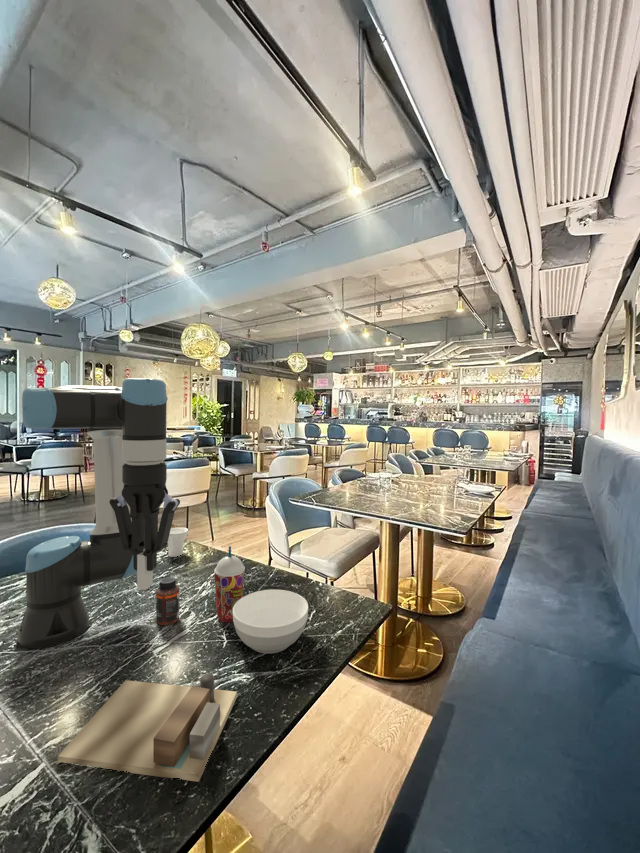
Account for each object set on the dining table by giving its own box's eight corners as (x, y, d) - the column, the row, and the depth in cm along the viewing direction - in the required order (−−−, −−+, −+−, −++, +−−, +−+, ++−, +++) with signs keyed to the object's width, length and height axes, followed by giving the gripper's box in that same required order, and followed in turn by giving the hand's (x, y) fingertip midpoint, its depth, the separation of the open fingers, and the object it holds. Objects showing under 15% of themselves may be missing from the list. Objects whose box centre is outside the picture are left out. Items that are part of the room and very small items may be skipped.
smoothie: (237, 627, 103) (237, 553, 103) (208, 623, 105) (208, 550, 104) (249, 611, 112) (249, 542, 111) (222, 608, 113) (222, 540, 113)
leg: (192, 706, 74) (192, 686, 74) (209, 709, 73) (209, 689, 73) (153, 762, 62) (153, 738, 62) (174, 766, 61) (174, 742, 61)
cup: (159, 558, 150) (159, 532, 150) (172, 549, 160) (172, 525, 159) (180, 560, 149) (180, 534, 149) (192, 551, 158) (192, 527, 158)
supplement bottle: (184, 618, 108) (184, 577, 107) (167, 628, 102) (167, 586, 102) (168, 612, 110) (168, 573, 110) (151, 623, 105) (151, 582, 104)
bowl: (316, 657, 92) (317, 620, 91) (235, 671, 86) (235, 632, 86) (298, 616, 110) (298, 585, 109) (229, 625, 104) (230, 593, 104)
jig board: (57, 763, 63) (57, 730, 63) (125, 685, 81) (125, 659, 81) (198, 781, 60) (199, 747, 60) (236, 697, 78) (237, 670, 78)
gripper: (187, 460, 75) (187, 580, 76) (124, 458, 77) (125, 575, 78) (167, 465, 68) (167, 598, 69) (98, 463, 69) (99, 593, 70)
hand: (145, 586), depth 73 cm, fingers closed
